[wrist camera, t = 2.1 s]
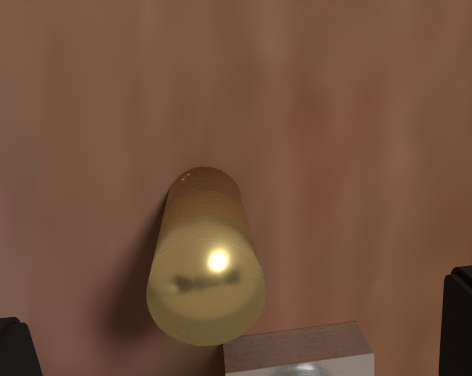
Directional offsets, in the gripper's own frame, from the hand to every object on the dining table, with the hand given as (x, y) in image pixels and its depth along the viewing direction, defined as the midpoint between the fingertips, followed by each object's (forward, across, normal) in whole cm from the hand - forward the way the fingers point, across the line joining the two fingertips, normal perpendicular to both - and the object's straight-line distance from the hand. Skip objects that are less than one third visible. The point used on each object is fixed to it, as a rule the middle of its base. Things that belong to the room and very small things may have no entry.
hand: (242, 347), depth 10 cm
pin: (+11, +1, 0) cm, 11 cm away
